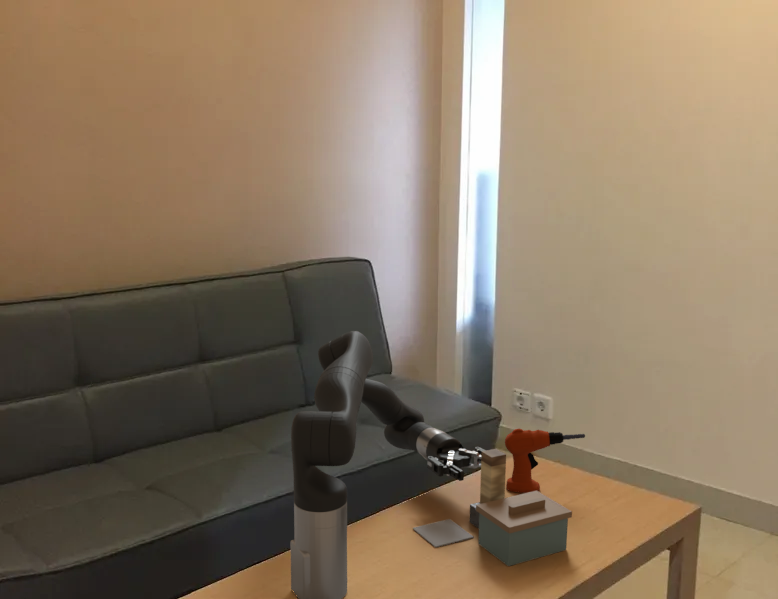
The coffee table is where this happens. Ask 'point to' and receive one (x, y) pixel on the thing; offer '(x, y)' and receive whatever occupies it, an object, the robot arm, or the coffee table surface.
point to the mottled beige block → (492, 475)
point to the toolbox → (523, 527)
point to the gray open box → (474, 515)
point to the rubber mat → (442, 533)
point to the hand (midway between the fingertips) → (479, 472)
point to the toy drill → (529, 455)
